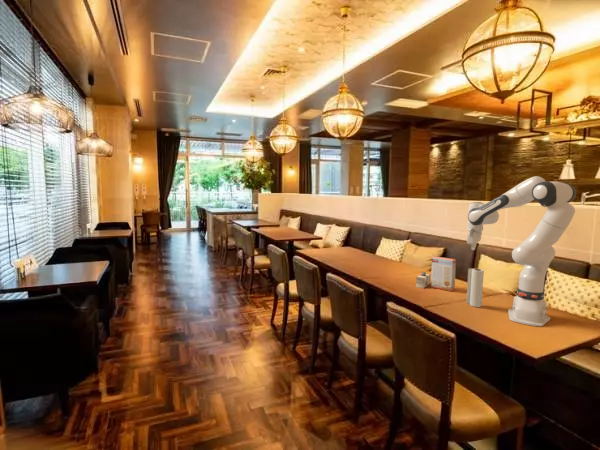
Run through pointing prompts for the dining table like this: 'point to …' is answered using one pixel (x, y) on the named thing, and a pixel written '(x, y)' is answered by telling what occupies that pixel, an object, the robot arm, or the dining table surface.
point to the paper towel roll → (475, 287)
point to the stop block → (423, 280)
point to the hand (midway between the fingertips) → (473, 249)
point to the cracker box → (443, 273)
